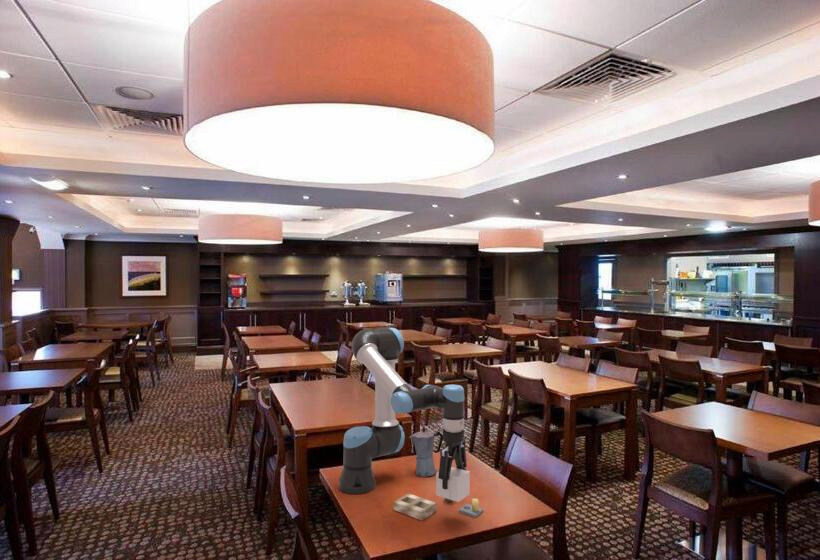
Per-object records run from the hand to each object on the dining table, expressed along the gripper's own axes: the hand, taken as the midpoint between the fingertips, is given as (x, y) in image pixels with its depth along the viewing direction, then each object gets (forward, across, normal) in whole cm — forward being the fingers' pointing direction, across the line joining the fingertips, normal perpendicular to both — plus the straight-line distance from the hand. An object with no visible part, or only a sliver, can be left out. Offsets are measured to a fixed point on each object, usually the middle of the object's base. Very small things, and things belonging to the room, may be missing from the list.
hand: (452, 493), depth 172 cm
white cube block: (0, 0, 0) cm, 0 cm away
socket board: (+10, -2, +15) cm, 18 cm away
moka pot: (+10, +29, +32) cm, 44 cm away
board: (+10, +10, -2) cm, 14 cm away
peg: (+10, +12, +9) cm, 18 cm away
